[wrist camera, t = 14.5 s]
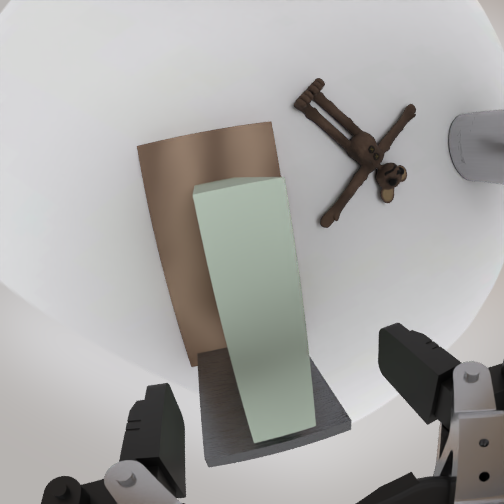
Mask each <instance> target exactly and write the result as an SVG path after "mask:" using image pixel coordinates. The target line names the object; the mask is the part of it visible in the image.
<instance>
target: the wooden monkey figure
mask: <svg viewBox="0 0 504 504" xmlns="http://www.w3.org/2000/svg"><path fill="white" fill-rule="evenodd" d="M324 85H325V83H324V81H323V80H322V79H320V78H317V79H316V80H315V81H314V82H313V83H312V84H311V85H310V86H309V87H308V89H307V90H306V91H304V92H303V94H302V95H301V96H300V97H299V98H298V99H297V100H296V102H295V103H294V106H295V107H296V108H297V109H298V110H300V111H302V112H303V113H305V114H306V117H307V118H309V119H311V120H312V121H314V122H315V123H316V124H317V125H319V126H320V127H321V128H322V129H323V130H324V131H325V132H327V133H328V134H329V135H330V136H331V137H332V138H333V139H334V140H335V141H337V142H338V143H339V144H340V145H341V146H342V147H343V148H344V149H345V150H346V151H347V153H348V154H349V156H350V157H352V158H353V159H355V160H356V161H357V162H358V163H359V164H360V165H361V167H360V169H359V170H358V171H357V172H356V174H355V175H354V176H353V178H352V180H351V181H350V183H349V184H348V186H347V187H346V189H345V190H344V192H343V193H342V195H341V196H340V197H339V199H338V200H337V201H336V203H335V204H334V205H333V206H332V207H331V208H330V209H329V210H328V211H327V212H326V213H325V214H324V216H323V217H322V218H321V221H320V224H321V226H323V227H325V228H328V227H329V226H330V225H331V224H332V223H333V222H334V220H335V221H338V219H339V216H340V213H341V211H342V210H343V208H344V207H345V205H346V204H347V203H348V201H349V200H350V199H351V197H352V196H353V195H354V193H355V192H356V191H357V189H358V188H359V187H360V186H361V185H362V184H363V182H364V181H365V180H366V179H367V177H368V175H369V174H370V173H371V172H372V171H374V170H375V169H376V168H377V169H378V171H377V175H376V180H377V182H378V183H379V185H380V186H381V187H382V190H381V198H382V200H383V201H384V202H385V203H390V202H391V201H392V200H393V198H394V187H396V186H398V184H399V183H400V182H403V181H405V180H406V177H407V172H406V169H405V168H404V167H403V166H401V165H399V166H397V165H396V164H394V163H386V164H384V165H381V164H380V163H381V162H382V160H383V157H384V153H385V152H386V151H388V150H389V149H390V146H391V144H392V143H393V141H394V140H395V138H396V137H397V136H398V134H399V133H400V132H401V131H402V130H403V128H404V127H405V125H406V124H407V123H408V122H409V121H410V120H411V119H412V118H414V117H415V115H416V114H414V113H415V112H416V108H415V106H414V105H413V104H409V105H408V106H407V107H406V108H405V110H404V112H403V114H402V115H401V117H400V119H399V120H398V121H397V123H396V124H395V125H394V126H393V127H392V128H391V130H390V131H389V132H388V133H387V134H386V135H385V136H384V138H383V139H382V140H381V141H380V142H379V144H378V145H377V143H376V141H375V139H374V137H372V136H371V135H370V134H368V133H366V132H363V131H362V130H361V129H360V128H359V127H358V126H356V125H355V124H354V123H353V121H352V120H351V119H350V118H348V117H347V116H346V115H345V114H344V113H342V112H341V111H340V110H339V109H338V108H337V107H336V106H335V105H334V104H333V103H332V102H331V101H329V100H328V99H327V98H326V97H325V96H324V94H323V93H322V92H320V91H321V90H322V88H323V87H324ZM311 100H314V101H315V102H316V103H318V104H319V105H320V106H321V107H322V108H324V109H325V110H326V111H327V112H328V113H329V114H330V115H332V116H333V117H334V118H335V119H336V120H337V121H338V122H339V123H341V124H342V125H343V126H344V127H345V128H346V129H347V130H348V131H349V132H350V133H351V134H353V135H354V136H353V137H352V138H351V140H348V139H347V138H346V137H345V136H344V135H343V134H342V133H341V132H340V131H339V130H338V129H336V128H335V127H334V126H333V125H332V124H331V123H330V122H329V121H328V120H326V119H325V118H324V117H323V116H322V115H321V114H320V113H319V112H318V111H317V109H316V108H313V107H312V106H311V105H310V102H311Z"/></svg>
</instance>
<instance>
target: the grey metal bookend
mask: <svg viewBox="0 0 504 504" xmlns="http://www.w3.org/2000/svg"><path fill="white" fill-rule="evenodd" d="M197 357H198V377H199V393H200V407H201V422H202V434H203V446H204V457H205V460H206V463H207V465H208V467H213V466H219V465H225V464H231V463H236V462H241V461H245V460H250V459H255V458H259V457H263V456H267V455H271V454H275V453H279V452H282V451H286V450H290V449H294V448H297V447H300V446H304V445H307V444H310V443H313V442H316V441H320V440H323V439H326V438H328V437H331V436H334V435H337V434H340V433H343V432H345V431H348V430H351V419H350V418H349V416H348V415H347V413H346V412H345V410H344V408H343V407H342V405H341V404H340V402H339V401H338V399H337V398H336V396H335V395H334V393H333V392H332V390H331V389H330V387H329V386H328V384H327V382H326V381H325V379H324V378H323V376H322V375H321V373H320V372H319V370H318V369H317V367H316V366H315V364H314V362H313V361H312V359H311V358H310V356H309V358H310V368H311V377H312V387H313V398H314V408H315V420H316V426H314V427H311V428H308V429H305V430H302V431H298V432H295V433H291V434H288V435H284V436H281V437H277V438H273V439H269V440H265V441H261V442H257V443H254V441H253V438H252V435H251V431H250V428H249V424H248V421H247V417H246V414H245V410H244V407H243V403H242V400H241V396H240V392H239V389H238V385H237V381H236V378H235V374H234V370H233V367H232V363H231V359H230V355H229V351H228V347H226V348H221V349H217V350H212V351H207V352H202V353H197Z"/></svg>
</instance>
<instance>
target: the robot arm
mask: <svg viewBox="0 0 504 504" xmlns="http://www.w3.org/2000/svg"><path fill="white" fill-rule="evenodd" d="M449 148H450V153H451V157H452V160H453V163H454V165H455V167H456V169H457V170H458V172H459V173H460V174H461V175H462V176H463V177H464V178H465V179H467V180H470V181H479V182H488V183H496V184H504V110H494V111H485V112H475V113H467V114H462V115H459V116H458V117H456V118H455V120H454V121H453V123H452V125H451V128H450V133H449ZM378 364H379V368H380V371H381V373H382V375H383V376H384V377H385V378H386V379H387V380H388V381H389V383H390V384H391V385H392V386H393V387H394V388H395V389H396V390H397V391H398V393H399V394H400V395H401V396H402V397H403V398H404V399H405V400H406V401H407V403H408V404H409V405H410V406H411V407H412V408H413V409H414V410H415V411H416V413H418V415H419V416H420V417H421V418H422V419H423V420H424V421H425V423H426V424H430V423H432V422H433V421H435V420H437V419H438V420H439V421H440V422H441V423H440V427H439V438H438V449H437V459H436V466H435V471H434V474H433V476H432V477H424V478H418V479H416V478H415V476H414V475H413V473H412V472H410V473H408V474H406V475H404V476H402V477H400V478H398V479H396V480H394V481H392V482H390V483H388V484H385V485H383V486H381V487H379V488H378V489H377V490H375V491H374V492H372V493H371V494H370V495H368V496H367V497H365V498H364V499H362V500H361V501H359V502H358V503H356V504H504V361H503V363H502V364H499V365H496V366H493V367H489V368H487V367H486V366H484V365H483V364H481V363H478V362H474V361H469V362H464V363H461V362H460V361H458V360H457V359H456V358H455V357H453V356H452V355H451V354H449V353H448V352H447V351H445V350H444V349H443V348H442V347H439V345H438V344H436V343H435V342H434V341H433V342H432V340H431V339H430V338H428V337H427V336H426V335H424V334H422V333H419V332H416V331H413V330H411V331H409V330H408V329H407V328H405V327H404V326H403V325H401V324H400V323H395V324H393V325H390V326H387V327H384V328H382V329H380V331H379V354H378ZM185 485H186V484H185V426H184V420H183V417H182V414H181V411H180V409H179V407H178V404H177V402H176V400H175V397H174V395H173V392H172V390H171V387H170V385H169V384H168V383H164V384H157V385H151V386H147V390H146V395H145V400H140V401H137V402H136V403H135V404H134V406H133V407H132V408H131V410H130V412H129V416H128V423H127V425H126V432H125V435H124V440H123V445H122V450H121V455H120V460H119V462H118V463H116V464H114V465H113V466H111V467H110V468H109V469H108V470H107V472H106V474H105V476H104V479H102V480H99V481H95V482H91V483H87V484H83V485H80V483H79V482H78V481H77V480H75V479H74V478H72V477H69V476H61V477H57V478H55V479H53V480H52V481H50V483H48V485H47V486H46V488H45V490H44V494H43V498H42V502H41V504H182V503H181V502H179V500H177V499H176V498H184V497H186V486H185ZM183 504H184V503H183Z"/></svg>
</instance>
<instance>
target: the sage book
mask: <svg viewBox="0 0 504 504" xmlns="http://www.w3.org/2000/svg"><path fill="white" fill-rule="evenodd" d="M193 199H194V204H195V209H196V214H197V219H198V223H199V228H200V233H201V237H202V242H203V247H204V251H205V256H206V260H207V265H208V269H209V273H210V278H211V282H212V286H213V291H214V295H215V299H216V303H217V307H218V311H219V316H220V320H221V324H222V328H223V332H224V336H225V340H226V343H227V347H228V351H229V355H230V359H231V363H232V367H233V370H234V374H235V378H236V381H237V385H238V389H239V392H240V396H241V400H242V403H243V407H244V410H245V414H246V417H247V421H248V424H249V428H250V431H251V435H252V438H253V441H254V443H257V442H261V441H265V440H269V439H273V438H277V437H281V436H284V435H288V434H291V433H295V432H298V431H302V430H305V429H308V428H311V427H314V426H316V420H315V408H314V398H313V387H312V377H311V368H310V358H309V349H308V340H307V332H306V323H305V315H304V307H303V299H302V292H301V284H300V277H299V270H298V262H297V255H296V249H295V242H294V235H293V228H292V222H291V216H290V209H289V203H288V197H287V191H286V185H285V179H284V177H234V178H229V179H224V180H219V181H214V182H209V183H204V184H199V185H195V186H194V190H193Z"/></svg>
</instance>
